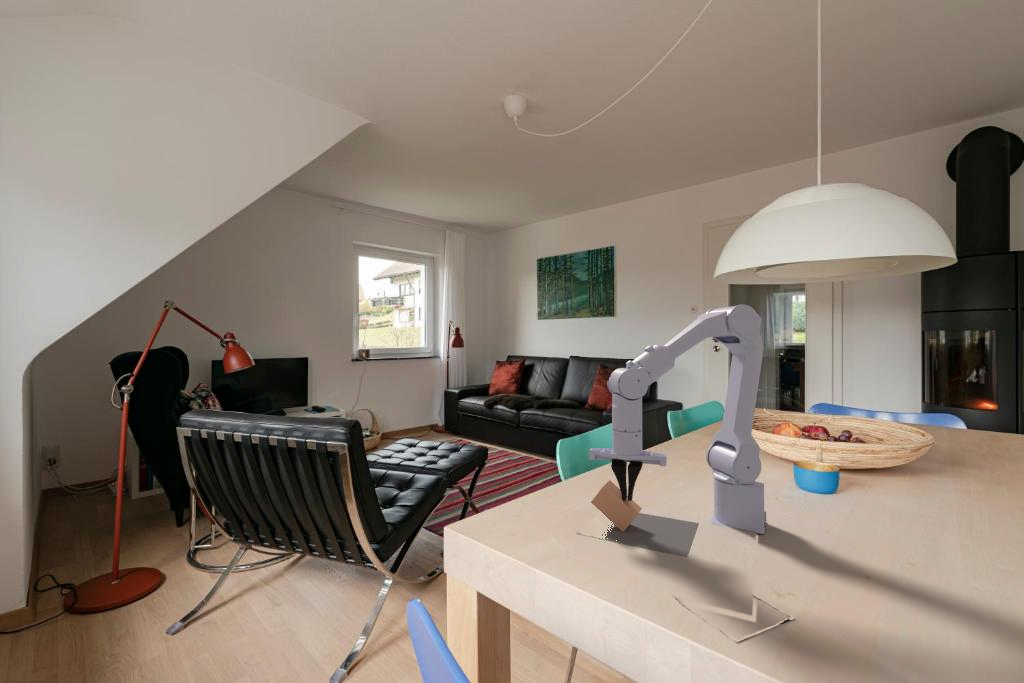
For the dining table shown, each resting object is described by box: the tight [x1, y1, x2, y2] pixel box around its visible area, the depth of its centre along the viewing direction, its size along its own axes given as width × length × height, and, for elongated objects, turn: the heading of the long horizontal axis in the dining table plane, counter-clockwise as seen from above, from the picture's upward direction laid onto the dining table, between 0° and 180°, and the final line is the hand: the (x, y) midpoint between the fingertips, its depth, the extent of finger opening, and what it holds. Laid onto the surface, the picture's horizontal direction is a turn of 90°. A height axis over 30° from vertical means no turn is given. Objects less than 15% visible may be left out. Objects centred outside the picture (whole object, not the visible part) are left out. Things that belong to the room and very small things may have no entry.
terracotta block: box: [590, 479, 643, 532], centre depth 89 cm, size 4×4×8 cm
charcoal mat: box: [598, 512, 699, 558], centre depth 88 cm, size 20×16×1 cm
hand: (627, 499), depth 88 cm, fingers closed
